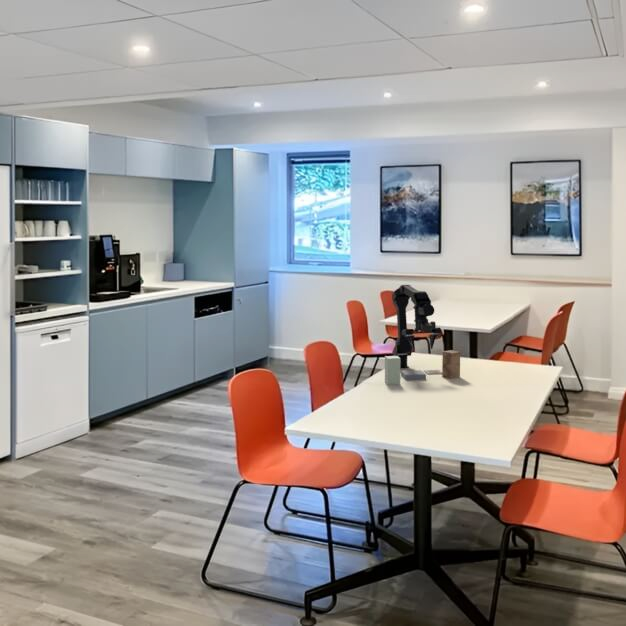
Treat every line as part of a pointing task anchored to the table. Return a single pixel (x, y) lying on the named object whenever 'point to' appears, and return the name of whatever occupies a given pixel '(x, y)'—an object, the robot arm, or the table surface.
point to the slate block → (413, 375)
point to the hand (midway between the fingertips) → (422, 349)
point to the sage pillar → (392, 370)
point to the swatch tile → (433, 371)
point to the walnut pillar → (451, 364)
